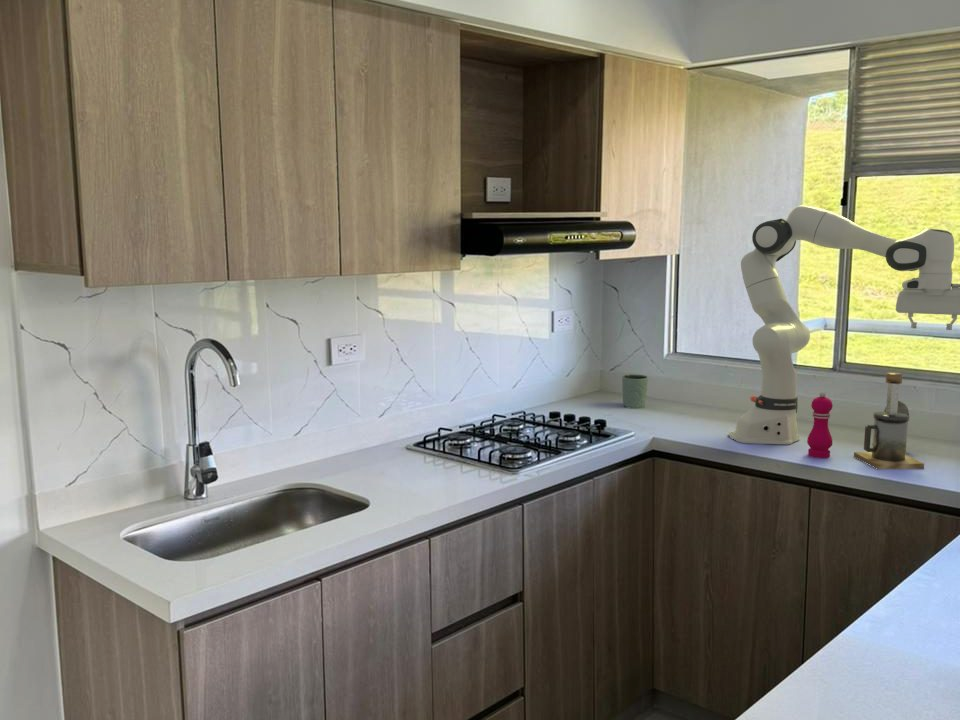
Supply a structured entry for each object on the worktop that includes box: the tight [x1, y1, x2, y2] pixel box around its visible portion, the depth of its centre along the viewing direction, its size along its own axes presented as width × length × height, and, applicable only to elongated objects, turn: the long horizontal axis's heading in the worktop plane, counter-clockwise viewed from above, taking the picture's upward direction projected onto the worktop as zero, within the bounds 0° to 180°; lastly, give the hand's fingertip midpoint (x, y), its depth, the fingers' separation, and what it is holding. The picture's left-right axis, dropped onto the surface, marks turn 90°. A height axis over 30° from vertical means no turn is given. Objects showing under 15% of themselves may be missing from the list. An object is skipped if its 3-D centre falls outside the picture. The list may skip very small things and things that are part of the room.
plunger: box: [885, 372, 904, 415], centre depth 254 cm, size 4×4×12 cm
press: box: [863, 411, 910, 462], centre depth 255 cm, size 12×10×22 cm
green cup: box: [621, 373, 649, 409], centre depth 339 cm, size 10×10×12 cm
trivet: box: [853, 451, 925, 470], centre depth 257 cm, size 14×14×2 cm
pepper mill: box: [806, 391, 834, 459], centre depth 263 cm, size 7×7×20 cm
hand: (931, 329), depth 260 cm, fingers open, 8 cm apart
